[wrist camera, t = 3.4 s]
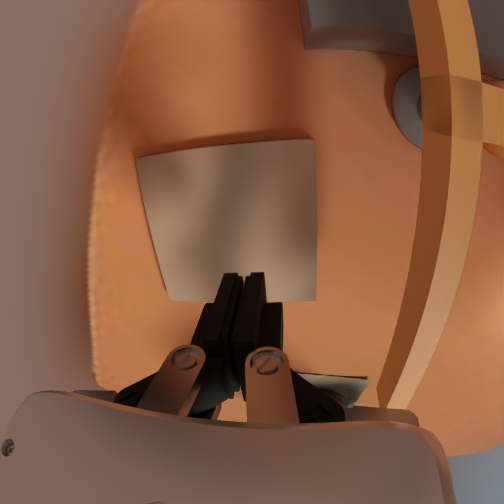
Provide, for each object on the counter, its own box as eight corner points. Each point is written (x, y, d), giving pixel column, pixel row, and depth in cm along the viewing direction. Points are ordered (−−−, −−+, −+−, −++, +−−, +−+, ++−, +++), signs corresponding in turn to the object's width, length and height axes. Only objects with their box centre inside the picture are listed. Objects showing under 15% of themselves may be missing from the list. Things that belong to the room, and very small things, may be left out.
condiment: (274, 416, 27) (263, 519, 17) (291, 371, 23) (283, 506, 12) (339, 421, 27) (342, 519, 16) (370, 377, 23) (387, 500, 12)
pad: (312, 138, 14) (313, 139, 14) (315, 295, 19) (315, 300, 18) (139, 157, 16) (134, 159, 15) (172, 295, 20) (170, 300, 20)
